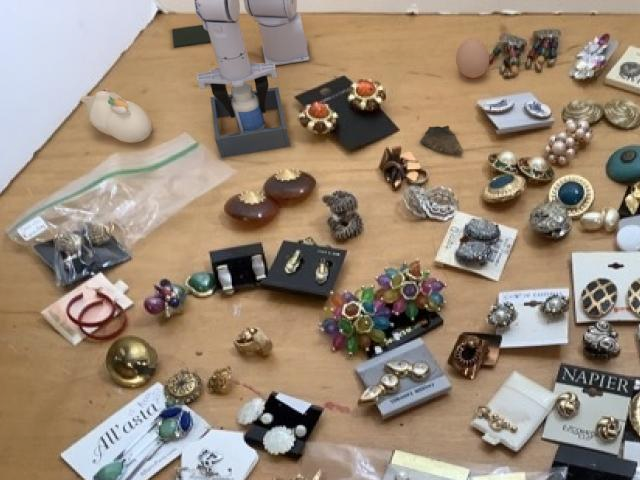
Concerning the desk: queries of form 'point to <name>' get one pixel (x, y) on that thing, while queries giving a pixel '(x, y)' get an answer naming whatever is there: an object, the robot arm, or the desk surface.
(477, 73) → the egg
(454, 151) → the arrowhead
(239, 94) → the pill bottle
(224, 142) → the open box
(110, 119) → the cat figurine
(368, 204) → the desk surface
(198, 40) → the pad
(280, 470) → the desk surface
